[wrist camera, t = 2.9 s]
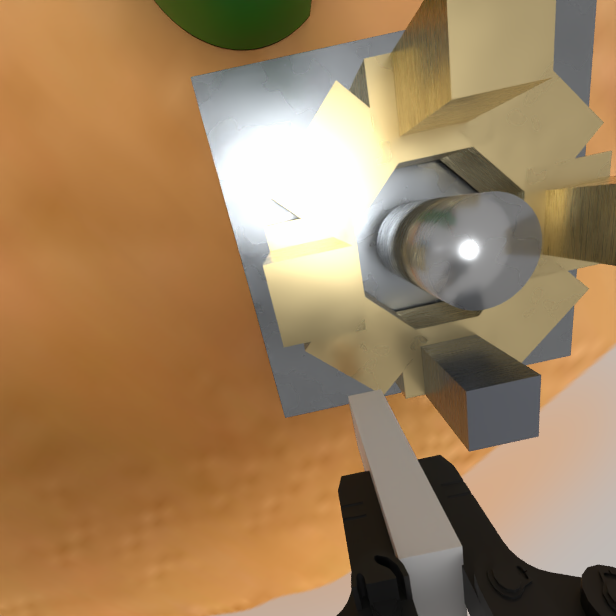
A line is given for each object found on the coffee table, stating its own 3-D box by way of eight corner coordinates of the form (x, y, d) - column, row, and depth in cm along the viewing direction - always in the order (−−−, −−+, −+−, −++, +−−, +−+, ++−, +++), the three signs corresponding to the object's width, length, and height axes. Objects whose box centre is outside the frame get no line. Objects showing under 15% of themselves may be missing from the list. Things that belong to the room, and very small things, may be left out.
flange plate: (285, 404, 22) (284, 506, 14) (199, 89, 16) (115, -31, 8) (551, 346, 22) (694, 416, 14) (569, 8, 16) (837, -190, 8)
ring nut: (308, 389, 19) (319, 484, 12) (241, 113, 15) (200, 21, 8) (546, 337, 19) (689, 403, 12) (560, 43, 14) (804, -113, 8)
